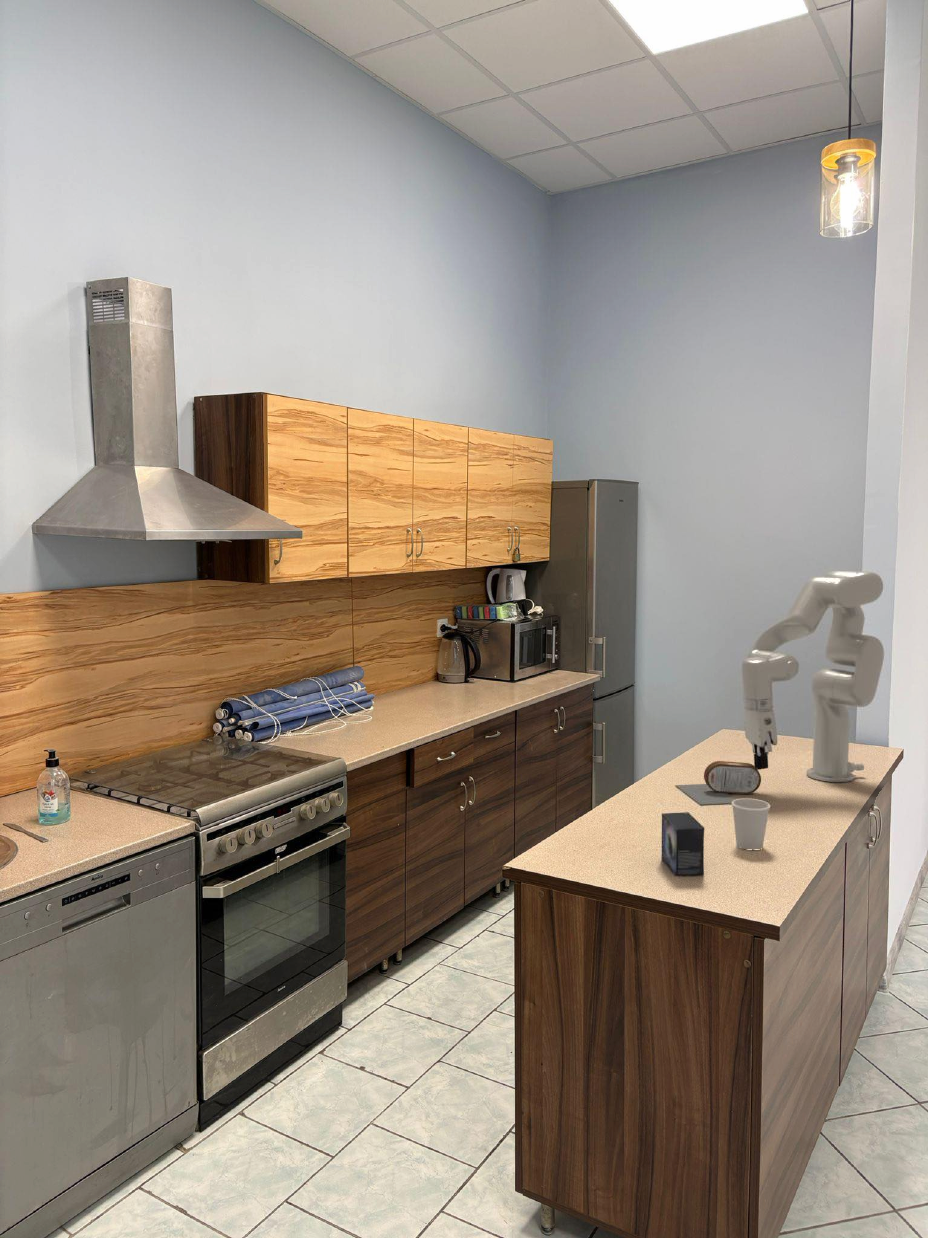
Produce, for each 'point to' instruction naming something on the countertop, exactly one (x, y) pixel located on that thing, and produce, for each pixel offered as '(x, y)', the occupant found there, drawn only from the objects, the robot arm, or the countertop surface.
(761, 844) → the dixie cup
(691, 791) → the mat
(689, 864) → the small box
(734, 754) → the countertop surface
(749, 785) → the tin
